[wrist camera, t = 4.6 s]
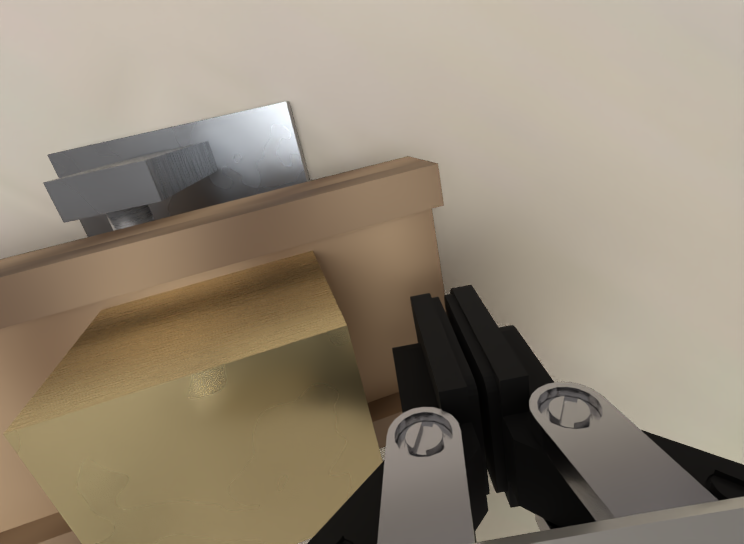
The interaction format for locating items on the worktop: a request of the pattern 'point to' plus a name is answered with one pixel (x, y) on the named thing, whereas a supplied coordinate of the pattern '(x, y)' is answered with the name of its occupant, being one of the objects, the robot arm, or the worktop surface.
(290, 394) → the block
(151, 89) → the worktop surface
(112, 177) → the pivot stand
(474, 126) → the worktop surface
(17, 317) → the board
